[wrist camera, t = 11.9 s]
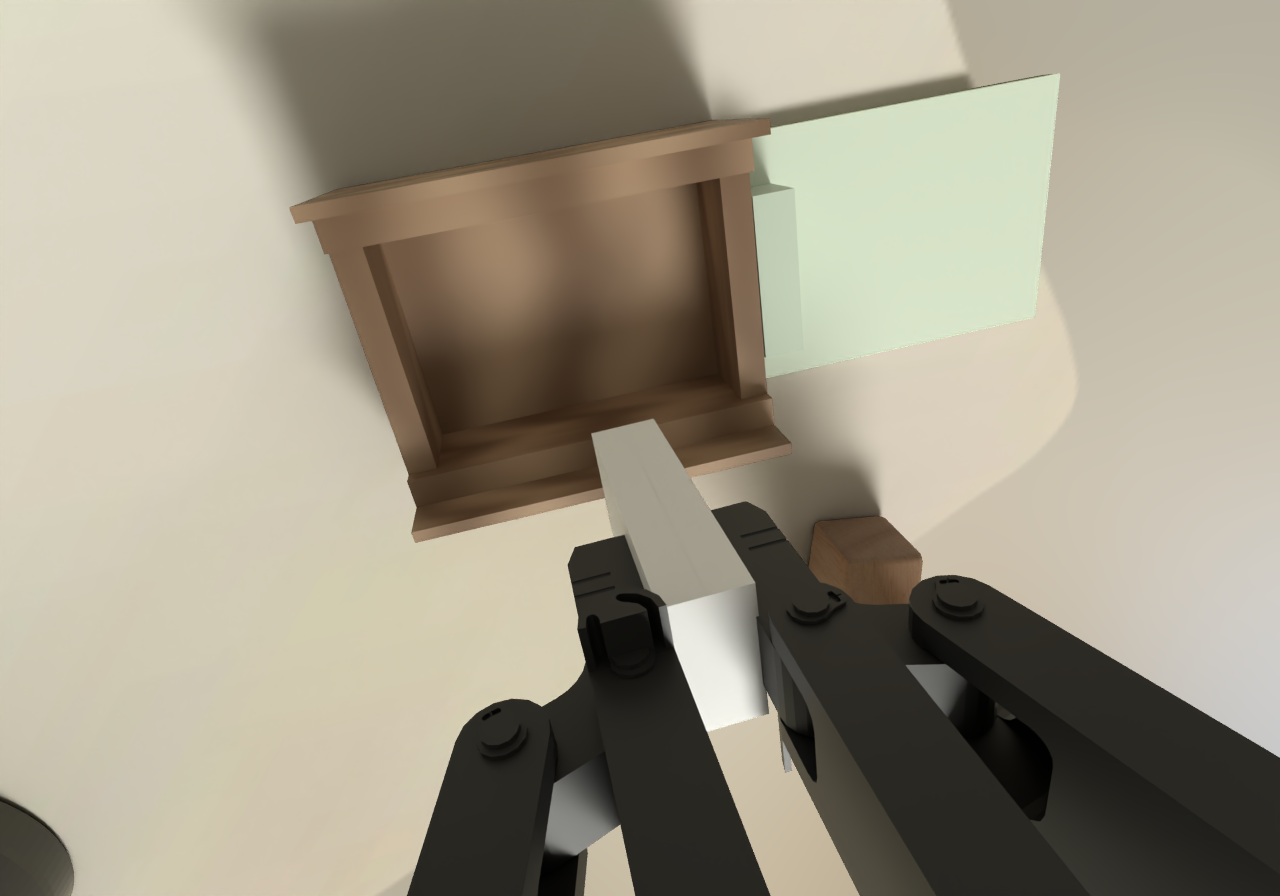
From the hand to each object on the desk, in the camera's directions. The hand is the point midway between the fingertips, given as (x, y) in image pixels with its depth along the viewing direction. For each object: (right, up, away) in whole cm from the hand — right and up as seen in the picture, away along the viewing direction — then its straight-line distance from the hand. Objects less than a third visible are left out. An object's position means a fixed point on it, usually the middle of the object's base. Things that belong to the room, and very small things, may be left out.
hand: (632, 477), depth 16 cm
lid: (+12, +11, +17) cm, 24 cm away
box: (-3, +7, +15) cm, 17 cm away
